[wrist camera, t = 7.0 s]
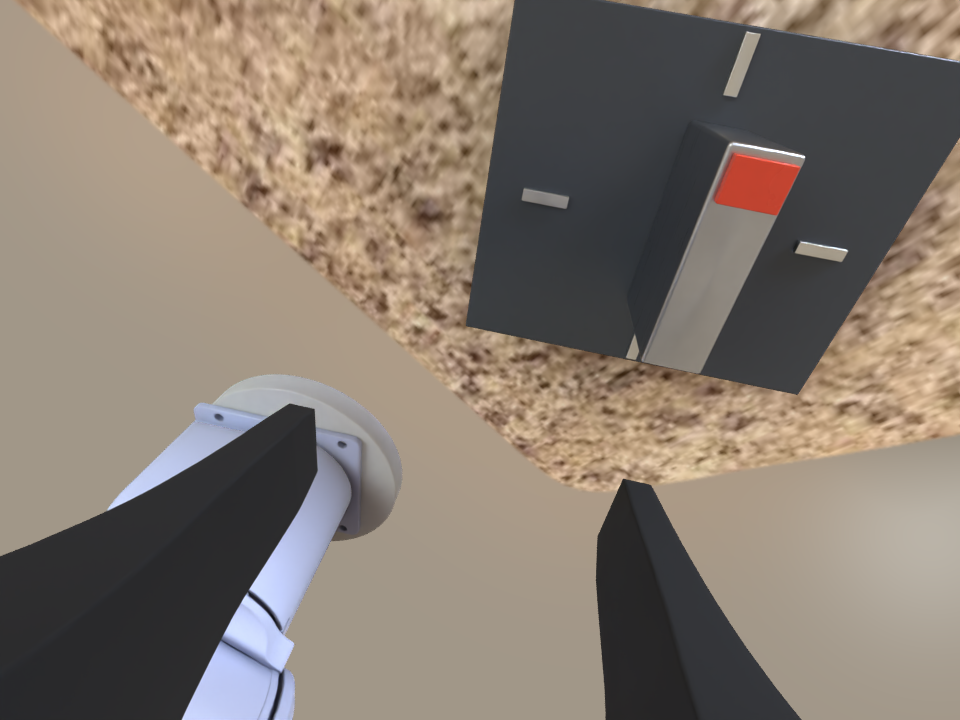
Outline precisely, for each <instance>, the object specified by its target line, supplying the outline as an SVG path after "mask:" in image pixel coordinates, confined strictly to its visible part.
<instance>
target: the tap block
mask: <svg viewBox="0 0 960 720" xmlns="http://www.w3.org/2000/svg"><path fill="white" fill-rule="evenodd" d="M691 121H699V122H704V123H709V124H714V125H720V126H725V127H730V128H735V129H740V130H746V131H748V132H750V133H753V134H755V135H758V136H760V137H762V138H765V139H767V140H770V141H772V142H774V143H777V144H779V145H782V146H784V147H786V148H789V149H791V150H794V151H796V152H798V153H801V154H803V155H804V156H805V161H804V163H803V165H802V167H801V169H800V171H799V173H798V175H797V177H796V179H795V182H794V184H793V186H792V188H791V190H790V192H789V194H788V196H787V198H786V200H785V202H784V204H783V206H782V208H781V210H780V212H779V214H778V216H777V218H776V220H775V222H774V224H773V226H772V228H771V230H770V232H769V234H768V236H767V238H766V241H765V243H764V245H763V247H762V249H761V251H760V253H759V255H758V257H757V259H756V261H755V263H754V265H753V267H752V269H751V271H750V273H749V275H748V277H747V279H746V281H745V283H744V285H743V287H742V289H741V291H740V293H739V295H738V298H737V300H736V302H735V304H734V306H733V308H732V310H731V312H730V314H729V316H728V318H727V320H726V322H725V324H724V326H723V328H722V330H721V332H720V334H719V336H718V338H717V340H716V342H715V344H714V346H713V348H712V350H711V352H710V355H709V357H708V359H707V361H706V363H705V365H704V367H703V369H702V371H701V373H699V374H700V375H705V376H710V377H714V378H719V379H724V380H729V381H734V382H739V383H743V384H748V385H753V386H758V387H763V388H767V389H772V390H777V391H782V392H787V393H792V394H796V395H797V394H799V392H800V390H801V389H802V387H803V386H804V384H805V383H806V381H807V379H808V378H809V376H810V375H811V373H812V371H813V370H814V368H815V367H816V365H817V363H818V362H819V360H820V359H821V357H822V356H823V354H824V352H825V351H826V349H827V348H828V346H829V344H830V343H831V341H832V340H833V338H834V336H835V335H836V333H837V332H838V330H839V329H840V327H841V325H842V324H843V322H844V321H845V319H846V317H847V316H848V314H849V313H850V311H851V309H852V308H853V306H854V305H855V303H856V301H857V300H858V298H859V297H860V295H861V294H862V292H863V290H864V289H865V287H866V286H867V284H868V282H869V281H870V279H871V278H872V276H873V274H874V273H875V271H876V270H877V268H878V267H879V265H880V263H881V262H882V260H883V259H884V257H885V255H886V254H887V252H888V251H889V249H890V247H891V246H892V244H893V243H894V241H895V240H896V238H897V236H898V235H899V233H900V232H901V230H902V228H903V227H904V225H905V224H906V222H907V220H908V219H909V217H910V216H911V214H912V213H913V211H914V209H915V208H916V206H917V205H918V203H919V201H920V200H921V198H922V197H923V195H924V193H925V192H926V190H927V189H928V187H929V185H930V184H931V182H932V181H933V179H934V178H935V176H936V174H937V173H938V171H939V170H940V168H941V166H942V165H943V163H944V162H945V160H946V158H947V157H948V155H949V154H950V152H951V151H952V149H953V147H954V146H955V144H956V143H957V141H958V139H959V138H960V61H957V60H951V59H945V58H939V57H933V56H927V55H922V54H916V53H910V52H904V51H898V50H892V49H886V48H880V47H875V46H869V45H863V44H857V43H851V42H845V41H839V40H834V39H828V38H822V37H816V36H810V35H804V34H798V33H793V32H787V31H781V30H775V29H769V28H763V27H757V26H752V25H746V24H740V23H734V22H728V21H722V20H716V19H711V18H705V17H699V16H693V15H687V14H681V13H675V12H670V11H664V10H658V9H652V8H646V7H640V6H634V5H629V4H623V3H617V2H611V1H605V0H515V1H514V8H513V15H512V21H511V28H510V35H509V41H508V48H507V54H506V61H505V68H504V74H503V81H502V88H501V94H500V101H499V107H498V114H497V121H496V127H495V134H494V141H493V147H492V154H491V160H490V167H489V174H488V180H487V187H486V194H485V200H484V207H483V213H482V220H481V227H480V233H479V240H478V247H477V253H476V260H475V266H474V273H473V280H472V286H471V293H470V300H469V306H468V313H467V319H466V326H468V327H473V328H478V329H482V330H487V331H492V332H497V333H502V334H507V335H511V336H516V337H521V338H526V339H531V340H536V341H540V342H545V343H550V344H555V345H560V346H565V347H569V348H574V349H579V350H584V351H589V352H594V353H598V354H603V355H608V356H613V357H618V358H623V359H627V360H632V361H637V362H642V361H641V357H640V353H639V349H638V345H637V340H636V336H635V332H634V328H633V324H632V320H631V315H630V311H629V307H628V303H627V297H628V294H629V291H630V288H631V285H632V282H633V280H634V277H635V274H636V271H637V268H638V266H639V263H640V260H641V257H642V254H643V251H644V249H645V246H646V243H647V240H648V237H649V235H650V232H651V229H652V226H653V223H654V221H655V218H656V215H657V212H658V209H659V206H660V204H661V201H662V198H663V195H664V192H665V190H666V187H667V184H668V181H669V178H670V175H671V173H672V170H673V167H674V164H675V161H676V159H677V156H678V153H679V150H680V147H681V145H682V142H683V139H684V136H685V133H686V130H687V128H688V125H689V123H690V122H691ZM642 363H644V362H642ZM647 364H649V363H647ZM652 365H654V364H652ZM656 366H658V365H656ZM661 367H663V366H661ZM666 368H668V367H666ZM671 369H672V368H671ZM676 370H677V369H676ZM681 371H682V370H681ZM685 372H686V371H685ZM690 373H691V372H690Z"/></svg>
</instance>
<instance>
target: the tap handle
mask: <svg viewBox="0 0 960 720" xmlns="http://www.w3.org/2000/svg"><path fill="white" fill-rule="evenodd" d="M804 161H805V156H804V155H803V154H801V153H798V152H796V151H794V150H791V149H789V148H786V147H784V146H782V145H779V144H777V143H774V142H772V141H770V140H767V139H765V138H762V137H760V136H758V135H755V134H753V133H750V132H748V131H746V130H740V129H735V128H730V127H725V126H720V125H714V124H709V123H704V122H699V121H691V122H690V123H689V125H688V128H687V130H686V133H685V136H684V139H683V142H682V145H681V147H680V150H679V153H678V156H677V159H676V161H675V164H674V167H673V170H672V173H671V175H670V178H669V181H668V184H667V187H666V190H665V192H664V195H663V198H662V201H661V204H660V206H659V209H658V212H657V215H656V218H655V221H654V223H653V226H652V229H651V232H650V235H649V237H648V240H647V243H646V246H645V249H644V251H643V254H642V257H641V260H640V263H639V266H638V268H637V271H636V274H635V277H634V280H633V282H632V285H631V288H630V291H629V294H628V297H627V303H628V307H629V311H630V315H631V320H632V324H633V328H634V332H635V336H636V340H637V345H638V349H639V353H640V357H641V361H642V362H644V363H649V364H654V365H658V366H663V367H668V368H672V369H677V370H682V371H686V372H691V373H695V374H699V373H701V371H702V369H703V367H704V365H705V363H706V361H707V359H708V357H709V355H710V352H711V350H712V348H713V346H714V344H715V342H716V340H717V338H718V336H719V334H720V332H721V330H722V328H723V326H724V324H725V322H726V320H727V318H728V316H729V314H730V312H731V310H732V308H733V306H734V304H735V302H736V300H737V298H738V295H739V293H740V291H741V289H742V287H743V285H744V283H745V281H746V279H747V277H748V275H749V273H750V271H751V269H752V267H753V265H754V263H755V261H756V259H757V257H758V255H759V253H760V251H761V249H762V247H763V245H764V243H765V241H766V238H767V236H768V234H769V232H770V230H771V228H772V226H773V224H774V222H775V220H776V218H777V216H778V214H779V212H780V210H781V208H782V206H783V204H784V202H785V200H786V198H787V196H788V194H789V192H790V190H791V188H792V186H793V184H794V182H795V179H796V177H797V175H798V173H799V171H800V169H801V167H802V165H803V163H804Z"/></svg>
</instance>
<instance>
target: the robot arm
mask: <svg viewBox="0 0 960 720" xmlns="http://www.w3.org/2000/svg"><path fill="white" fill-rule="evenodd" d="M194 415H195V421H194V422H193V423H192V424H191V425H190V426H189V427H188V428H187V429H186V430H185V431H184V432H182V434H181V435H179V436H178V437H177V438H176V439H175V440H174V441H173V442H172V443H171V444H170V445H169V446H168V447H167V448H166V449H165V450H164V451H163V452H162V453H161V454H160V455H159V456H158V457H157V458H156V459H155V460H154V461H153V462H152V463H151V464H150V465H149V466H148V467H147V468H146V469H144V471H142V473H140V475H138V476H137V477H136V478H135V479H134V480H133V481H132V482H131V483H130V484H129V485H128V486H127V487H126V488H125V489H124V490H123V491H122V492H121V493H120V494H119V495H118V496H117V497H116V499H115V500H114V501H113V502H112V504H111V505H110V506H109V508H108V509H107V511H106V512H104V513H102V514H100V515H98V516H96V517H93V518H91V519H89V520H87V521H84V522H82V523H80V524H77V525H75V526H73V527H71V528H68V529H66V530H63V531H61V532H59V533H57V534H54V535H52V536H49V537H47V538H45V539H42V540H40V541H38V542H36V543H33V544H31V545H28V546H26V547H23V548H21V549H18V550H15V551H13V552H10V553H8V554H5V555H3V556H0V720H292V719H293V714H294V707H295V696H294V693H295V681H294V676H293V675H292V673H291V672H290V671H289V670H287V669H286V668H284V666H285V664H286V662H287V660H288V657H289V655H290V653H291V651H292V649H293V646H294V643H293V642H292V641H290V640H289V639H287V638H286V637H285V636H284V635H285V633H286V631H287V629H288V627H289V625H290V623H291V621H292V619H293V617H294V615H295V613H296V611H297V609H298V607H299V605H300V603H301V601H302V599H303V597H304V595H305V593H306V591H307V589H308V587H309V584H310V583H311V580H312V578H313V576H314V574H315V572H316V570H317V568H318V566H319V564H320V562H321V560H322V558H323V556H324V554H325V552H326V550H327V548H328V546H329V544H330V542H331V540H332V538H333V536H334V534H335V532H336V531H337V532H341V533H346V534H350V535H355V534H357V533H358V532H359V530H360V520H361V477H362V442H361V440H360V439H359V438H358V437H355V436H352V435H348V434H343V433H339V432H334V431H330V430H325V429H321V428H316V427H315V409H312V408H307V407H303V406H298V405H294V404H288V405H286V406H285V407H283V408H282V409H280V410H279V411H277V412H275V413H274V414H272V415H271V416H269V417H266V416H262V415H257V414H253V413H248V412H244V411H239V410H235V409H230V408H225V407H221V406H216V405H212V404H207V403H199V404H198V405H196V406H195V408H194ZM221 415H222V416H221ZM341 441H343V442H345V443H346V444H345V443H342V442H341ZM596 565H597V566H596V585H597V586H596V587H597V601H598V614H599V626H600V638H601V649H602V662H603V674H604V686H605V708H606V720H801V719H800V718H799V716H798V715H797V714H796V712H795V711H794V710H793V709H792V708H791V706H790V705H789V704H788V703H787V701H786V700H785V699H784V698H783V696H782V695H781V694H780V692H779V691H778V690H777V689H776V687H775V686H774V685H773V683H772V682H771V681H770V679H769V678H768V677H767V675H766V674H765V672H764V671H763V670H762V668H761V667H760V666H759V664H758V663H757V662H756V660H755V659H754V658H753V656H752V655H751V653H750V652H749V651H748V649H747V648H746V646H745V645H744V643H743V642H742V641H741V639H740V638H739V636H738V635H737V633H736V632H735V630H734V629H733V627H732V626H731V624H730V623H729V621H728V619H727V618H726V616H725V615H724V613H723V612H722V610H721V609H720V607H719V606H718V604H717V602H716V601H715V599H714V598H713V596H712V594H711V593H710V591H709V589H708V588H707V586H706V584H705V583H704V581H703V579H702V578H701V576H700V574H699V572H698V571H697V569H696V567H695V566H694V564H693V562H692V560H691V559H690V557H689V555H688V553H687V552H686V550H685V548H684V546H683V545H682V543H681V541H680V540H679V537H678V536H677V533H676V532H675V530H674V528H673V526H672V524H671V522H670V520H669V518H668V517H667V515H666V513H665V511H664V509H663V507H662V505H661V503H660V501H659V499H658V497H657V495H656V493H655V492H654V490H653V488H652V486H651V485H649V484H644V483H640V482H635V481H631V480H627V479H623V480H622V483H621V485H620V487H619V489H618V492H617V494H616V496H615V498H614V501H613V503H612V505H611V508H610V510H609V512H608V514H607V516H606V519H605V521H604V523H603V525H602V528H601V530H600V532H599V534H598V540H597V563H596Z"/></svg>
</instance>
